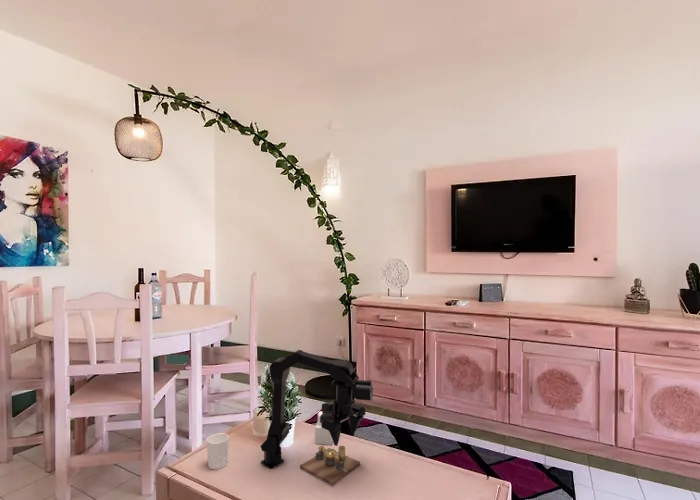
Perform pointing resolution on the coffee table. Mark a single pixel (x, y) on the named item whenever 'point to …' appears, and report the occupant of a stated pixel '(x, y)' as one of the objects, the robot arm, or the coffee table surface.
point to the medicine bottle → (322, 431)
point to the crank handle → (334, 453)
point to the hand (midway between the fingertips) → (344, 440)
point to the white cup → (217, 450)
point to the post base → (329, 467)
